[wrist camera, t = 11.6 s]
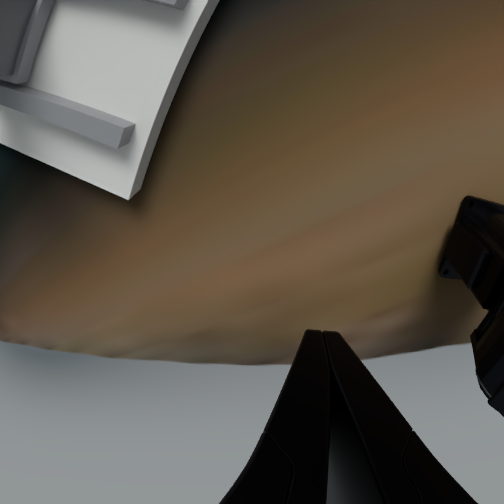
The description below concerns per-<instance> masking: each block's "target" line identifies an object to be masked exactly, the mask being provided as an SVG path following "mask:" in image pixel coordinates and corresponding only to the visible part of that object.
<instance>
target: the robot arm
mask: <svg viewBox="0 0 504 504" xmlns="http://www.w3.org/2000/svg"><path fill="white" fill-rule="evenodd" d="M470 201H471V204H470V205H468V203H469V202H470ZM445 269H446V271H445V272H443V271H444V270H445ZM438 272H439V274H440V276H441V277H443V278H452V279H461V280H462V281H463V282H464V284H465V285H466V286H467V288H468V289H470V290H471V291H472V293H473V294H474V296H475V297H476V299H477V300H478V302H479V303H480V305H481V306H482V308H483V309H487V310H488V311H489V312H488V313H487V315H486V316H485V318H484V319H483V320H482V322H481V323H480V325H479V326H478V328H477V329H475V330H474V331H473V332H472V334H471V335H470V337H471V343H472V348H473V354H474V359H475V366H476V375H477V378H478V382H479V385H480V388H481V390H482V391H483V393H484V394H485V395H486V397H487V398H488V399H489V400H488V404H489V405H490V406H491V407H493V408H494V409H495V410H497V411H498V412H499V413H500V414H501V415H502V416H503V417H504V205H502V204H499V203H495V202H492V201H488V200H485V199H481V198H478V197H474V196H466V197H465V198H464V200H463V203H462V206H461V209H460V212H459V215H458V218H457V221H456V224H455V226H454V229H453V231H452V234H451V237H450V240H449V243H448V245H447V248H446V250H445V253H444V257H443V259H442V262H441V264H440V267H439V270H438ZM219 504H478V503H477V502H476V501H475V500H474V499H473V498H472V497H471V496H470V495H469V494H468V493H467V492H466V491H465V490H464V489H463V488H462V487H461V486H460V485H459V483H457V481H456V480H455V479H454V478H453V477H452V476H451V475H450V474H449V473H448V472H447V471H446V470H445V468H444V467H443V466H442V465H441V464H440V463H439V462H438V461H437V459H436V458H435V457H434V456H433V455H432V453H431V452H430V451H429V449H428V448H427V447H426V446H425V444H424V443H423V442H422V441H421V439H420V438H419V437H418V435H417V434H416V433H415V431H412V428H411V426H410V425H409V423H408V422H407V421H406V419H405V418H404V417H403V415H402V414H401V413H400V411H399V410H398V409H397V408H396V406H395V405H394V403H393V402H392V401H391V400H390V398H389V397H388V396H387V394H386V393H385V392H384V390H383V389H382V388H381V386H380V385H379V384H378V383H377V381H376V380H375V379H374V378H373V376H372V375H371V373H370V372H369V371H368V369H366V367H365V366H364V364H363V363H362V362H361V360H360V359H359V358H358V356H357V355H356V354H355V353H354V351H353V350H352V349H351V347H350V346H349V345H348V344H347V342H346V341H345V340H344V338H343V337H342V336H341V335H340V333H338V332H336V331H323V332H321V331H320V330H310V329H307V330H306V331H305V333H304V335H303V338H302V340H301V343H300V346H299V348H298V351H297V353H296V356H295V358H294V361H293V363H292V366H291V368H290V371H289V373H288V375H287V378H286V380H285V383H284V385H283V387H282V390H281V392H280V395H279V397H278V399H277V401H276V404H275V406H274V408H273V411H272V413H271V415H270V418H269V420H268V422H267V424H266V426H265V429H264V431H263V433H262V435H261V437H260V439H259V441H258V444H257V446H256V448H255V449H254V451H253V453H252V455H251V457H250V459H249V461H248V463H247V464H246V466H245V468H244V469H243V471H242V472H241V474H240V475H239V477H238V478H237V480H236V481H235V483H234V484H233V486H232V487H231V488H230V490H229V491H228V492H227V494H226V495H225V496H224V498H223V499H222V500H221V502H220V503H219Z"/></svg>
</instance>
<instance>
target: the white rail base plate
mask: <svg viewBox="0 0 504 504" xmlns="http://www.w3.org/2000/svg"><path fill="white" fill-rule="evenodd" d="M219 1H220V0H55V1H54V4H53V6H52V9H51V11H50V14H49V16H48V19H47V22H46V24H45V27H44V30H43V33H42V36H41V39H40V42H39V45H38V48H37V51H36V55H35V58H34V61H33V65H32V69H31V72H30V76H29V80H28V82H23V83H18V84H15V83H11V82H8V81H4V80H1V79H0V143H1V144H3V145H6V146H8V147H10V148H12V149H15V150H17V151H19V152H21V153H23V154H26V155H28V156H30V157H32V158H35V159H37V160H39V161H41V162H44V163H46V164H48V165H50V166H53V167H55V168H57V169H59V170H62V171H64V172H66V173H68V174H71V175H73V176H75V177H77V178H80V179H82V180H84V181H86V182H89V183H91V184H93V185H95V186H98V187H100V188H102V189H104V190H107V191H109V192H111V193H113V194H116V195H118V196H120V197H122V198H125V199H127V200H129V199H130V198H131V197H132V196H133V195H135V194H136V193H137V192H138V191H139V190H140V189H141V186H142V183H143V180H144V177H145V174H146V171H147V168H148V165H149V162H150V159H151V156H152V153H153V150H154V147H155V145H156V142H157V139H158V136H159V134H160V131H161V128H162V126H163V123H164V120H165V118H166V115H167V113H168V110H169V108H170V105H171V103H172V100H173V98H174V95H175V93H176V90H177V88H178V86H179V83H180V81H181V79H182V76H183V74H184V72H185V70H186V67H187V65H188V63H189V61H190V59H191V56H192V54H193V52H194V50H195V48H196V46H197V44H198V42H199V39H200V37H201V35H202V33H203V31H204V29H205V27H206V25H207V23H208V21H209V19H210V18H211V16H212V14H213V12H214V10H215V8H216V6H217V4H218V2H219Z"/></svg>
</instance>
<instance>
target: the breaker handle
mask: <svg viewBox="0 0 504 504" xmlns="http://www.w3.org/2000/svg"><path fill="white" fill-rule="evenodd" d="M54 1H55V0H0V79H1V80H4V81H8V82H11V83H15V84H18V83H23V82H28V80H29V76H30V72H31V69H32V65H33V61H34V58H35V55H36V51H37V48H38V45H39V42H40V39H41V36H42V33H43V30H44V27H45V24H46V22H47V19H48V16H49V14H50V11H51V9H52V6H53V4H54Z"/></svg>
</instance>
